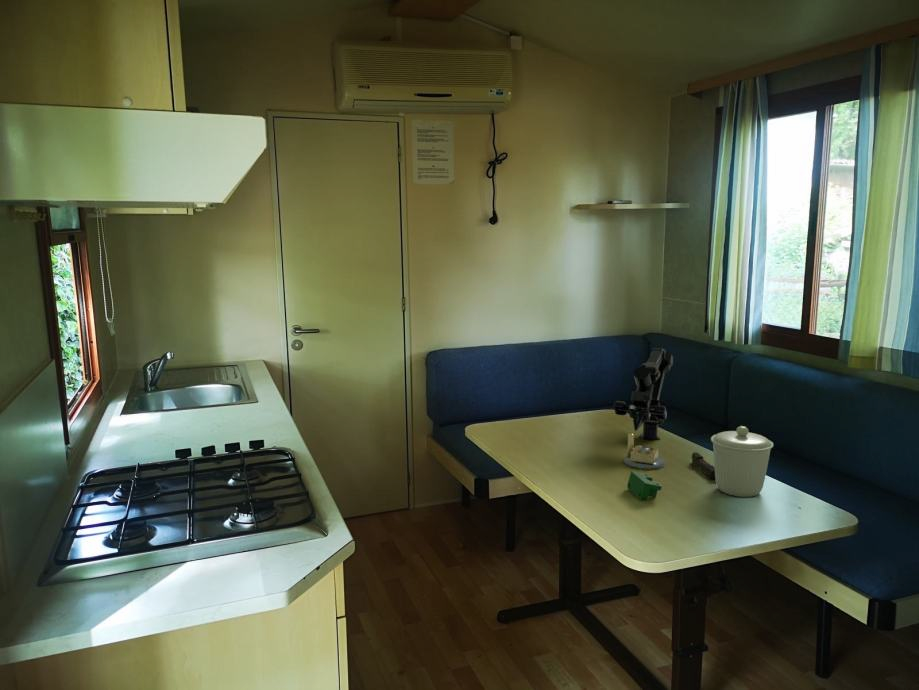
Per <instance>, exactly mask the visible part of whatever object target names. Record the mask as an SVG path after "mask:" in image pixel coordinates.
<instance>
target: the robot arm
mask: <svg viewBox="0 0 919 690" xmlns="http://www.w3.org/2000/svg"><path fill="white" fill-rule="evenodd" d="M673 365H674V357H673V355H672V353H670V352H668V351H667V350H666V349H665V348H656V347H655V348H652V349H651V352H650V355H649V358H648V360H647V361H646V362H645V363H642V364H640V366H638V367H636V368H635V369H634V370H633V377H634V381H635V385H636V386H637V387H636V390H633V391H631V398H630V399H631V404H630V405H627V403H626V402H625V401H619V400H616V401H615V402H613V410H614V414H615V415H617V416H625V415H627V413H628V415H629V418H630V419H632V421H633V428H634V431H638V430H639V429H640V428H641V427H642V433H640V434H639V436H640V437H641V438H642V439H643V440H649V441H651V440H650V439H660V440H661V438H660V437H659V435H658V433H659V430H658V429H659V426H661V425H663V424H664V421H665V420H667V415H668V413H667V409H666V406H665V405H660V402H659V401H660V396H661V391H662V388H663V384H664V378H665V375H666V374H668V373H669V372H670V371H671V367H672V366H673Z"/></svg>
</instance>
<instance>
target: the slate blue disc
mask: <svg viewBox="0 0 919 690" xmlns="http://www.w3.org/2000/svg"><path fill="white" fill-rule="evenodd" d="M647 450H650V447H648V446H642V447H640V448H639V452H641V453H647ZM623 464H624V465H626V466H627V467H631V468H633V469H637V468H638V469H637V470H644V469H654V470H660V469H663V468H664V467H665V466H666V465H665V464H666V461H665V460H664V459H663V458H661V457H659V456H658V458H657V460H656V461H655V463H654V464H650V463H643V462H636V461H630V458H628V457H627V455H626V456H625V457H624V458H623Z"/></svg>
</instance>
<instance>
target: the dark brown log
mask: <svg viewBox="0 0 919 690" xmlns="http://www.w3.org/2000/svg"><path fill="white" fill-rule="evenodd" d="M691 462H692V465H693V466H694V468H696V469H699V470H700V471H702V472H703V473H704V474H705V476H708V478H709V480H710V481H711V482H713V481H715V482H716V479H715V468H714V465H712V464H710V463H709V462H707V461H706V460H705V459H704V457H703V455H702V454H700V453H698V452H696V451H694V452H692V454H691Z"/></svg>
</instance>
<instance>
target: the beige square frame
mask: <svg viewBox="0 0 919 690" xmlns="http://www.w3.org/2000/svg"><path fill="white" fill-rule="evenodd" d="M634 441H635V435H634V433H631V432H630V433H628V434H627V455H626V456H627V457H628V458H630V461H636V462H643V463H650V464H654V463H655V461H656V460H657V458H658V457H659V449H658V448H656V447H654V446H650V447H649V448H650V450H647V453H641V452H639V448H640V447H643V446H642V445H641V444H638V445H637V446H636V445H635V447H634V443H635V442H634Z"/></svg>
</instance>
